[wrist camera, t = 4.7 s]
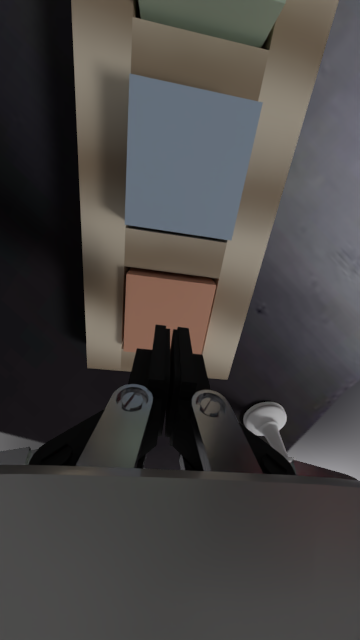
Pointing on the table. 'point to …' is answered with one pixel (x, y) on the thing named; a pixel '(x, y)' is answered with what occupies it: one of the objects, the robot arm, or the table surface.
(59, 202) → the table surface
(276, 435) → the chess piece
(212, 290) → the terracotta button
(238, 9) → the sage button
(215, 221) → the slate button
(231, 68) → the button panel
